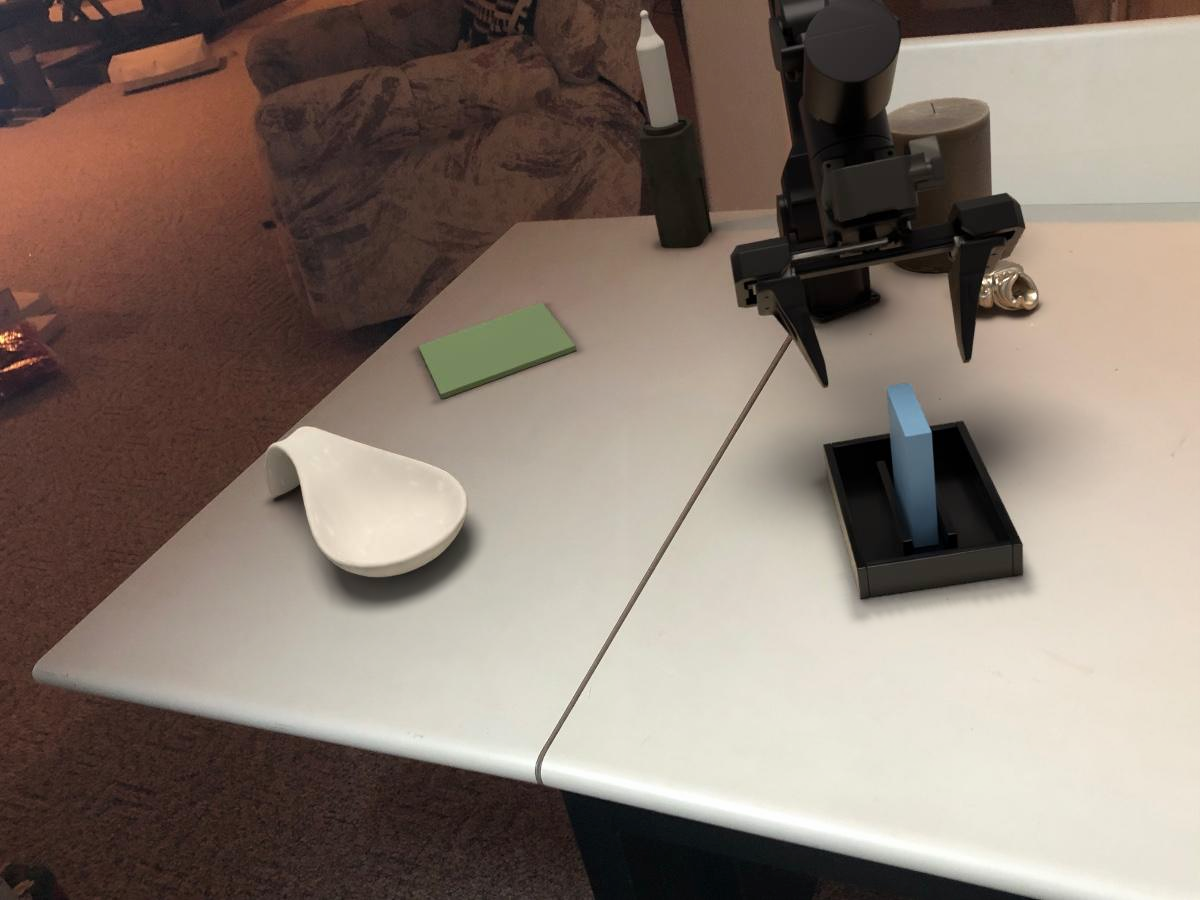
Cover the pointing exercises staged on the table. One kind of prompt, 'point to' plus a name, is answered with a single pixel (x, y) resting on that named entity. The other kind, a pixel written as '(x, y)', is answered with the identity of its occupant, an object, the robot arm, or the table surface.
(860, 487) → the dish rack
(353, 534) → the spoon rest
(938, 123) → the pillar candle
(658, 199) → the candle
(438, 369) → the mat
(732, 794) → the table surface
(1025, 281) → the ornament
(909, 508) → the blue rectangular block
